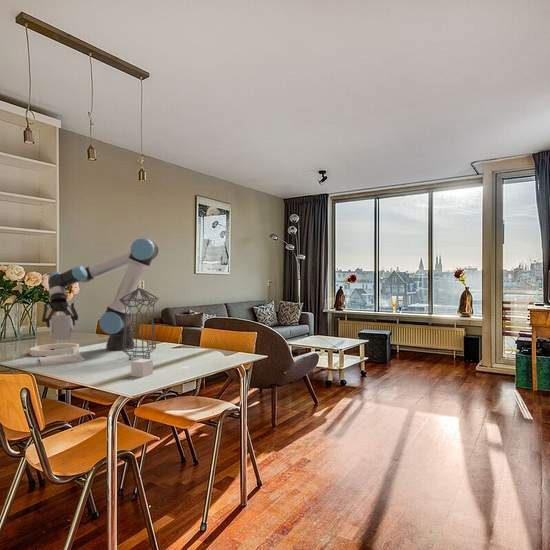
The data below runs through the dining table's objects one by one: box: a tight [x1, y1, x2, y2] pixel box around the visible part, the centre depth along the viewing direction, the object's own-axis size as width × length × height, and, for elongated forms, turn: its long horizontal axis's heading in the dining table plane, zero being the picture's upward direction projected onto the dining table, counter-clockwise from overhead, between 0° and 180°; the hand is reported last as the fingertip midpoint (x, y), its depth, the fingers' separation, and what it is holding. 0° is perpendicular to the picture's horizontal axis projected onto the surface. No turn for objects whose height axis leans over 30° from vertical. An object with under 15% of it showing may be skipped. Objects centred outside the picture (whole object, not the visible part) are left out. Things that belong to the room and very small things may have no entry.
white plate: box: [29, 342, 80, 357], centre depth 221 cm, size 23×23×3 cm
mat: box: [38, 352, 85, 366], centre depth 200 cm, size 18×18×1 cm
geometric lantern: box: [119, 287, 160, 361], centre depth 202 cm, size 16×16×35 cm
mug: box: [51, 314, 72, 341], centre depth 200 cm, size 12×8×11 cm
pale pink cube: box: [130, 358, 154, 378], centre depth 168 cm, size 6×6×6 cm
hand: (61, 331), depth 197 cm, fingers closed on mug, 8 cm apart
